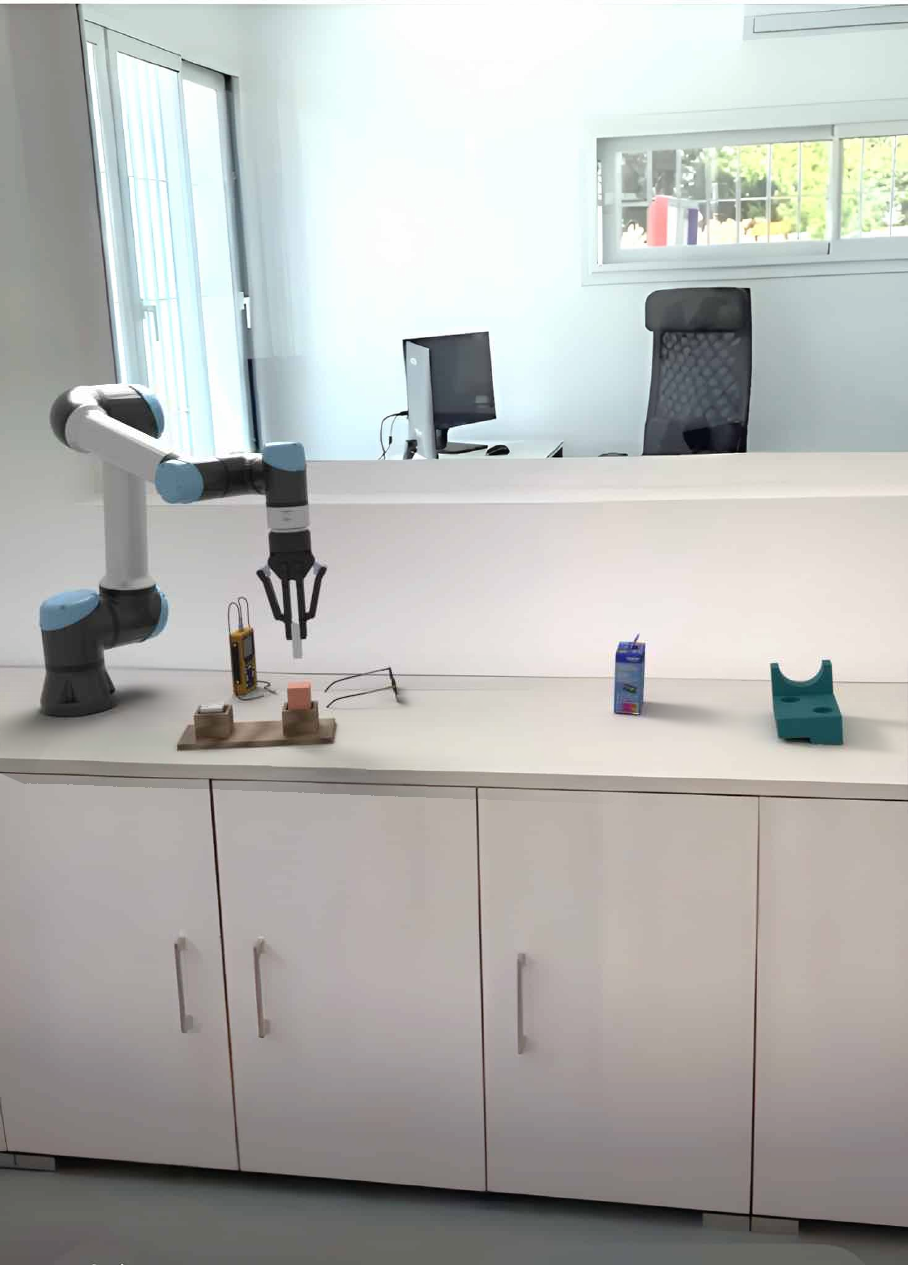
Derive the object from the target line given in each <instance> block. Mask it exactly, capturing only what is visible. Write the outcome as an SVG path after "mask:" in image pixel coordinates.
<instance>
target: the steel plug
mask: <svg viewBox="0 0 908 1265" xmlns="http://www.w3.org/2000/svg"><path fill="white" fill-rule="evenodd" d="M200 712H201V714H214V713H225V712H226V701H217V702H214V701H211V702H203V703H202V707H201V709H200Z"/></svg>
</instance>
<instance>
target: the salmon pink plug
mask: <svg viewBox="0 0 908 1265" xmlns="http://www.w3.org/2000/svg"><path fill="white" fill-rule="evenodd" d="M311 689H312V687H311V681H304V682H303V681H297V682H294V681H293V682H288V685H287V687H286V696H287V702H288V710H305V709H312V702H311V701H312V690H311Z"/></svg>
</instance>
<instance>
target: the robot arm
mask: <svg viewBox="0 0 908 1265" xmlns="http://www.w3.org/2000/svg"><path fill="white" fill-rule="evenodd" d="M164 413H165V412H164V410H163V407H162V405H161V402H160V400H159V399H158V397H157V396H156V395H155V393H154V392H153V391H152V390H151V389H150V388H148V387H146V386H144V385H141V384H132V383H130V384H129V383H117V384H116V383H114V384H101V385H100V384H99V385H80V386H79V385H77V386H74V387H71V388H68V389H66V390H65V391H63V392H62V393H61V394H59V395H58V396H57V397H56V398H55V400H54V401H53V402H52V405H51V407H50V411H49V424H50V429H51V431H52V433H53V435H54V436H55V438H56V439H57V440H58V441H59V442H60V443H61V444H63V445H64V446H65V447H67V448H69V449H71V450H73V451H75V452H76V453H77V452H78V453H79V454H93V455H95V456H97V457H98V458H99V459H100V460H101V469H102V472H101V473H102V501H103V503H102V504H103V526H104V528H103V530H104V553H105V555H104V558H105V559H104V560H105V575H103V577H101V579H99V580H98V592H97V591H96V590H93V589H87V588H86V589H85V588H84V589H82V588H81V589H75V590H73V591H72V590H68V591H64V592H60V593H57V594H54V595H52V596H50V597H48V598H46V599H45V600H44V601H42V603H41V604H40V606H39V624H38V625H39V628H40V633H41V641H42V642H41V643H42V650H43V657H44V658H43V660H44V667H45V677H44V681H43V685H42V689H41V694H40V699H39V703H40V711H41V713H43V714H45V715H49V716H55V717H73V716H74V717H75V716H76V717H77V716H83V715H91V714H95V713H100V712H103V711H106V710H108V709H111V708H113V707H115V706H116V705H117V704H118V692H117V689H116V687H115V685H114V683H113V681H112V679H111V676H110V674H109V672H108V670H107V668H106V663H105V662H106V660H105V653H104V652H105V651H107V650H111V649H117V648H120V647H124V646H128V645H133V644H139V643H140V644H141V643H144V642H146V641H147V640H150V639H153V638H156V637H158V636H159V635H160V634H161V633H162V632H163V631H164V630H165V627H166V625H167V624H168V619H169V603H168V599H167V598H165V597H166V593H165V592H164V591H163V589H162V588H160V586H158V585H157V580H156V578H154V577H153V576H152V575H151V574H150V573H149V551H148V548H149V546H148V545H149V544H148V514H147V512H148V510H147V508H148V507H147V482H148V483H149V484H150V483H151V484H152V485H154V487H155V490H156V492H157V494H158V495H160V497H161V499H162V500H163V501H164V502H165V503H167V504H170V505H171V504H172V505H174V504H175V505H177V504H181V505H189V504H192V503H197V502H202V501H203V502H204V501H208V500H209V501H210V500H216V499H224V498H232V497H233V498H235V497H239V496H245V495H246V496H247V495H250V496H251V495H255V496H256V495H257V496H259V495H261V496H265V508H266V522H267V524H266V525H267V528H268V529H270V531H269V532H268V534H267V535H268V536H267V537H268V547H269V548H268V550H269V555H268V558H267V563H266V564H264V565H262V567H259V568H258V569H257V570H256V572H255V574H256V576H257V577H258V579H259V581H261V583H262V584H263V588H264V591H265V594H266V597H267V600H268V603H269V606H270V610H271V613H272V616H273V619H274V620H275V621H280V622H282V623H283V624H284V629H285V630H284V632H285V639H286V641H292V642H291V644H292V656H293V659H294V660H296V659H302V658H303V641H302V640H307V637H308V625H307V621H309V620H313V619H315V617H316V613H317V609H318V603H319V598H320V592H321V587H322V586H321V585H322V581H323V578H324V576H325V574H326V573H327V570H328V566H327V565H325V564H321V563H320V562H318V561H316V557H315V556H314V554H313V551H312V538H311V531H310V528H309V527H310V522H311V520H310V506H309V504H310V503H309V498H308V497H309V496H308V480H307V479H308V478H307V461H306V460H307V459H306V454H305V448H304V447H305V446H304V445H303V444H302V443H301V442H299V441H275V442H266V443H264V444H263V445H262V448H261V453H259V452H258V453H256V452H244V451H238V452H228V453H225V454H223V455H215V456H214V455H211V456H204V457H203V456H201V457H200V456H199V457H195V456H192V455H190V454H187V453H185V452H183V451H181V450H179V449H178V448H175V447H173V446H170V445H168V444H167V443H164V442H162V441H160V440H159V439H160V438H161V436H162V434H163V433H164V429H165V424H166V421H165V414H164ZM312 568H313V574H314V575H315V578H314V581H313V586H312V593H311V597H310V603H309V610H308V611H306V610H307V609H306V608H307V607H306V595H305V594H306V593H305V578H306V577H307V576H308V573H309V572H310V570H311V569H312ZM271 570H272V572H273V573H274V574H275V575H276V577H277V578H278V579H279V580H280V582H281V584H280V585H281V592H282V593H281V594H282V604H283V606H282V608H283V612H282V610H281V607H280V604H279V600H278V598H277V595H276V591H275V588H274V586H273V583H272V580H271V578H270V577H271ZM291 581H295V588H296V599H297V600H296V602H297V614H298V620H293V614H292V612H293V610H292V600H291V599H292V598H291V595H292V594H291Z"/></svg>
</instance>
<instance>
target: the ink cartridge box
mask: <svg viewBox="0 0 908 1265" xmlns="http://www.w3.org/2000/svg"><path fill="white" fill-rule="evenodd" d="M639 637H640V633H638V634H637V635H636V636H635V638H634V640H633V641H619V642H618V645H617V649H616V651H615V654H614V655H615V657H614V660H615V661H614V680H613V681H614V684H613V685H614V687H613V688H614V689H613V691H614V692H613V713H614V714H616V713H617V714H625V713H640V712H641V713H642V710H641V708H643V706H642V705H644V702H643V701H644V692H645V691H644V690H645V675H646V674H645V672H646V671H645V669H646V668H645V667H646V666H645V665H646V642H639V641H638V640H639ZM641 713H640V714H641Z"/></svg>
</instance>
